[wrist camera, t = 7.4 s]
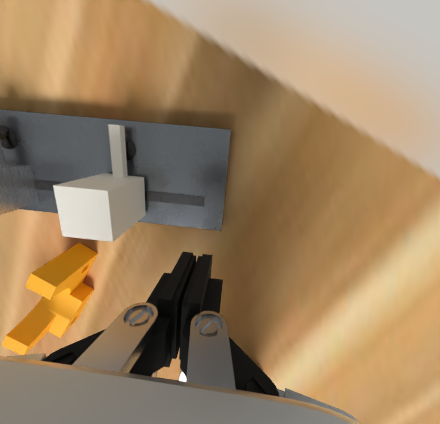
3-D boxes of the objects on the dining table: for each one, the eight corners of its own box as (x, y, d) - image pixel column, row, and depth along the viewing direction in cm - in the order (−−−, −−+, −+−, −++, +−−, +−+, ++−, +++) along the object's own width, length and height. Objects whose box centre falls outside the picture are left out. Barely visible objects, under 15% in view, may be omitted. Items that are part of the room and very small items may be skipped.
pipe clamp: (78, 317, 30) (37, 363, 24) (50, 302, 29) (1, 345, 23) (111, 260, 26) (72, 296, 20) (80, 241, 25) (30, 273, 19)
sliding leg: (145, 215, 21) (112, 241, 16) (108, 211, 21) (62, 236, 16) (142, 127, 18) (100, 121, 13) (99, 123, 19) (39, 115, 13)
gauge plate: (222, 225, 23) (216, 261, 16) (4, 202, 24) (-93, 226, 17) (231, 130, 20) (228, 123, 13) (-22, 108, 21) (-155, 91, 14)
